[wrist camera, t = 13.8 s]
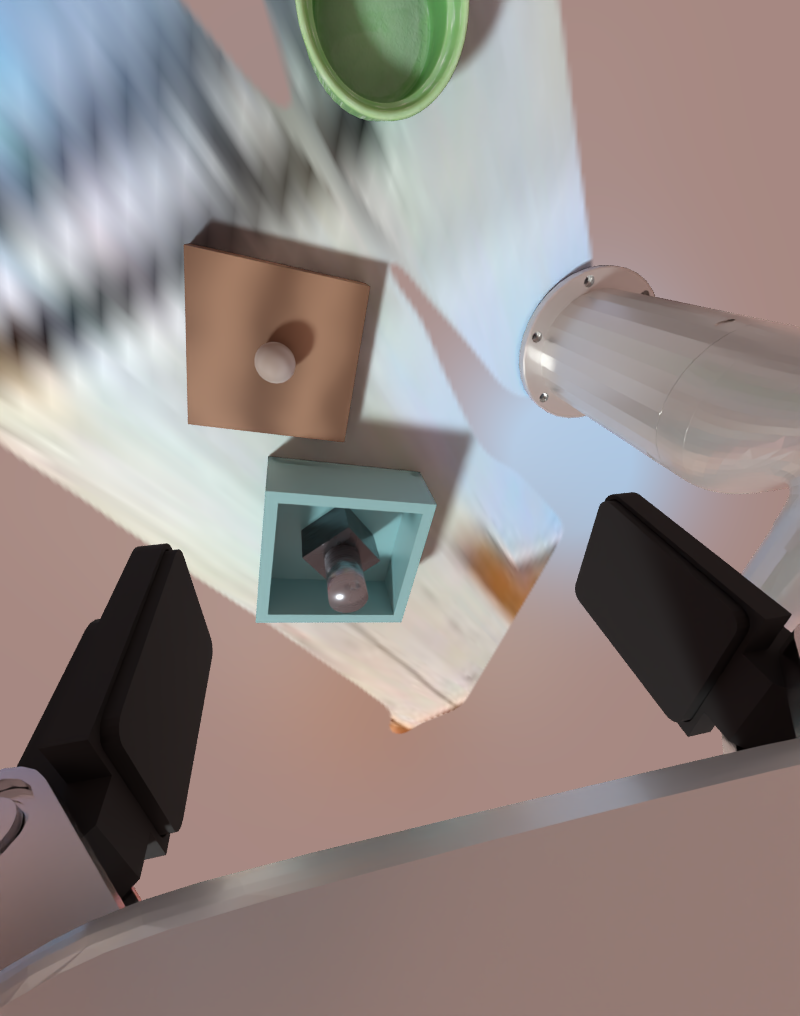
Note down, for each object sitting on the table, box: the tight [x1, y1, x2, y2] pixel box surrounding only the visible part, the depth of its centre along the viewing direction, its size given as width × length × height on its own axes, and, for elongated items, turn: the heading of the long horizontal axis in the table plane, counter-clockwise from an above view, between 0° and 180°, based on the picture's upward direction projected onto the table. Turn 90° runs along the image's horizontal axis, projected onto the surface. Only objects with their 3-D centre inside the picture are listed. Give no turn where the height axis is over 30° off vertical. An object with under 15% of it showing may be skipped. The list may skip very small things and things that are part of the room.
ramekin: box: [295, 0, 469, 121], centre depth 24 cm, size 9×9×4 cm
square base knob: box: [301, 507, 380, 613], centre depth 39 cm, size 5×5×9 cm
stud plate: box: [184, 243, 370, 442], centre depth 32 cm, size 12×12×5 cm
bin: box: [256, 456, 437, 623], centre depth 41 cm, size 14×14×6 cm
